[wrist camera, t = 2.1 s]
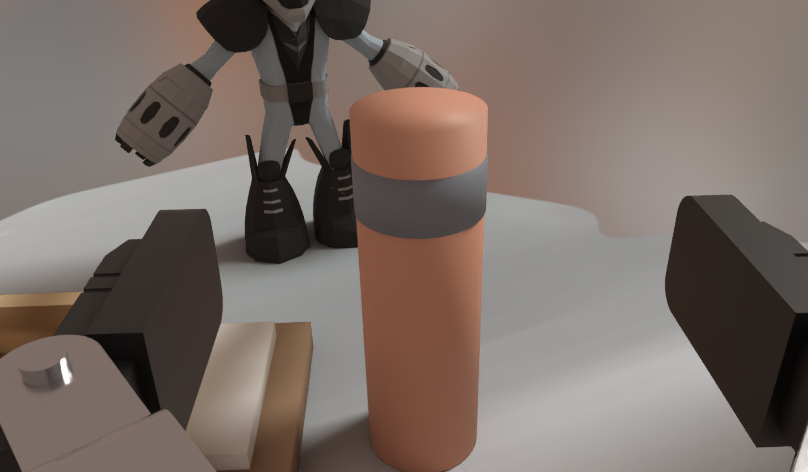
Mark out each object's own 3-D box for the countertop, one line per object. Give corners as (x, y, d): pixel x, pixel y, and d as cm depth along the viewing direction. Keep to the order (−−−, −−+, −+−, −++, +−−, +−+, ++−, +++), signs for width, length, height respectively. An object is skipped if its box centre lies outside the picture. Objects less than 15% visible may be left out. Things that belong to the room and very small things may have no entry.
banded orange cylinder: (471, 393, 32) (479, 84, 25) (484, 472, 28) (499, 131, 21) (369, 397, 32) (350, 88, 25) (368, 477, 28) (345, 136, 21)
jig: (313, 346, 35) (305, 277, 33) (292, 517, 26) (280, 437, 24) (-20, 360, 35) (-48, 290, 33) (-153, 537, 26) (-202, 457, 24)
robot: (440, 192, 50) (440, -135, 40) (471, 223, 46) (479, -132, 36) (143, 250, 44) (56, -118, 34) (148, 292, 40) (53, -112, 30)
